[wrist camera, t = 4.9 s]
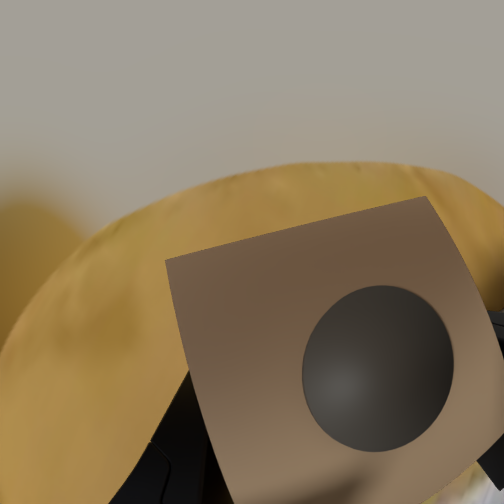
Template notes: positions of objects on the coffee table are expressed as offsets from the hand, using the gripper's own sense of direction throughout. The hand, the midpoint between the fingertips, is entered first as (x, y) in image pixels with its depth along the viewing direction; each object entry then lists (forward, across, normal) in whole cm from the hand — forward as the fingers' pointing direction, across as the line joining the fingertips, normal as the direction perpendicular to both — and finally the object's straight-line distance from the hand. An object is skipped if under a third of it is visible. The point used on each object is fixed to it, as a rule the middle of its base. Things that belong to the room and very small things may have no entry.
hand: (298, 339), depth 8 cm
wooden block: (+4, 0, +6) cm, 7 cm away
